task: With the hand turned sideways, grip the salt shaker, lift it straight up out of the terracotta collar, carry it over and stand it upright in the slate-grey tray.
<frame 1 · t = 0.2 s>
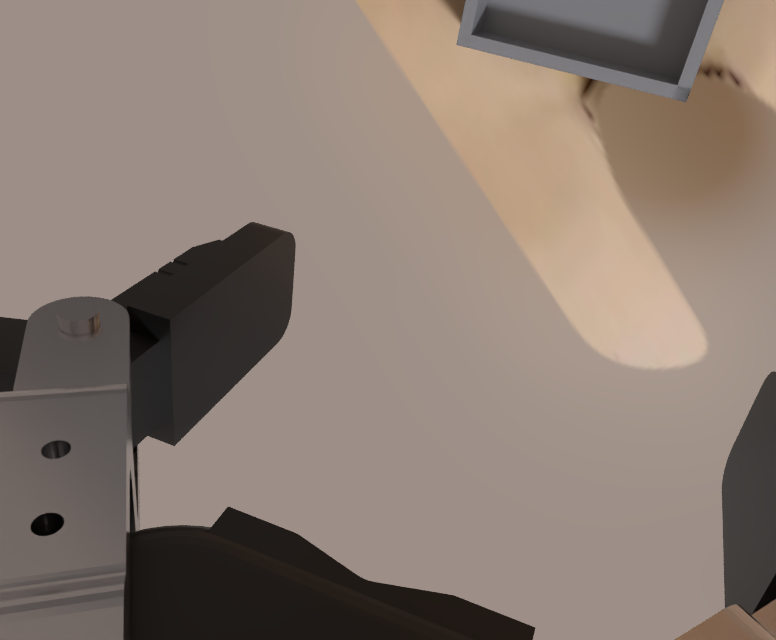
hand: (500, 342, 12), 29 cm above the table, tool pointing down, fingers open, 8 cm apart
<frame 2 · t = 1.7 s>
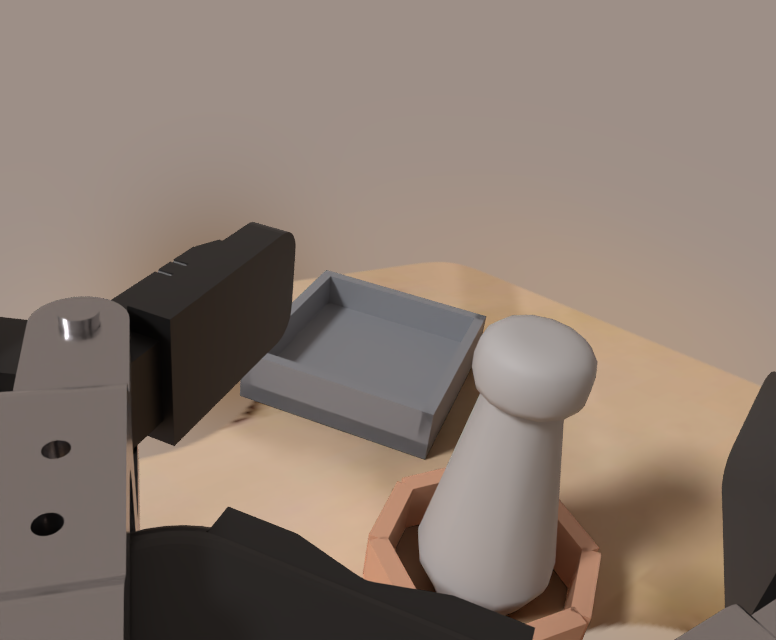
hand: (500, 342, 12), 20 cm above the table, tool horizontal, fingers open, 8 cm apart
salt shaker: (474, 586, 33), resting in collar
tray: (367, 374, 45), on the table
collar: (475, 583, 33), on the table
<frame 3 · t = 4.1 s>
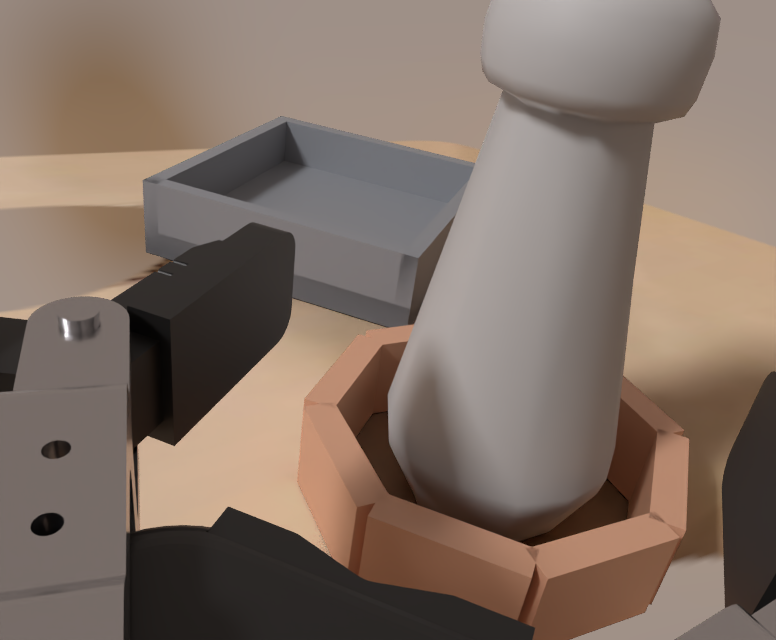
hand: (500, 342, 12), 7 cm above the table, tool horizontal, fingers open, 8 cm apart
salt shaker: (479, 496, 20), resting in collar
tray: (330, 238, 32), on the table
collar: (481, 490, 20), on the table
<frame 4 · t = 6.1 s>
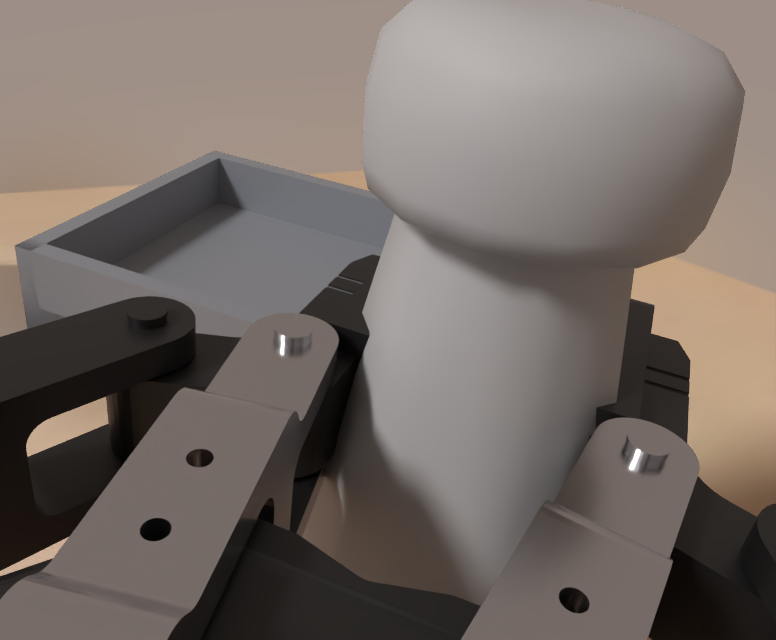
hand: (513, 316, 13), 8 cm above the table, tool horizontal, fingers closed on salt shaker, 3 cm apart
tray: (262, 303, 27), on the table
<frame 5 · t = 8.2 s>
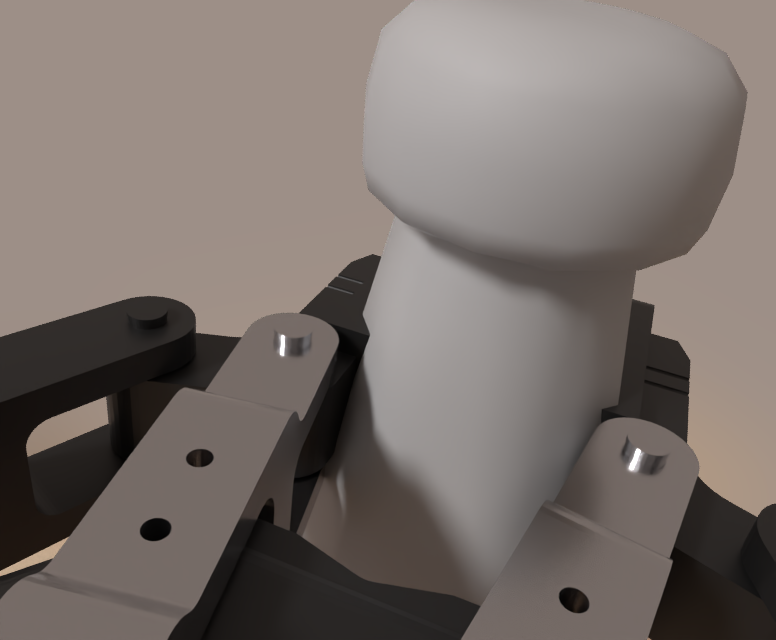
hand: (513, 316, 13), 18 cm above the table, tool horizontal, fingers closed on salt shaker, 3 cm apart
when the fingers open (10 cm above the table, at t = 10.5 s): salt shaker drops 1 cm, resting on tray.
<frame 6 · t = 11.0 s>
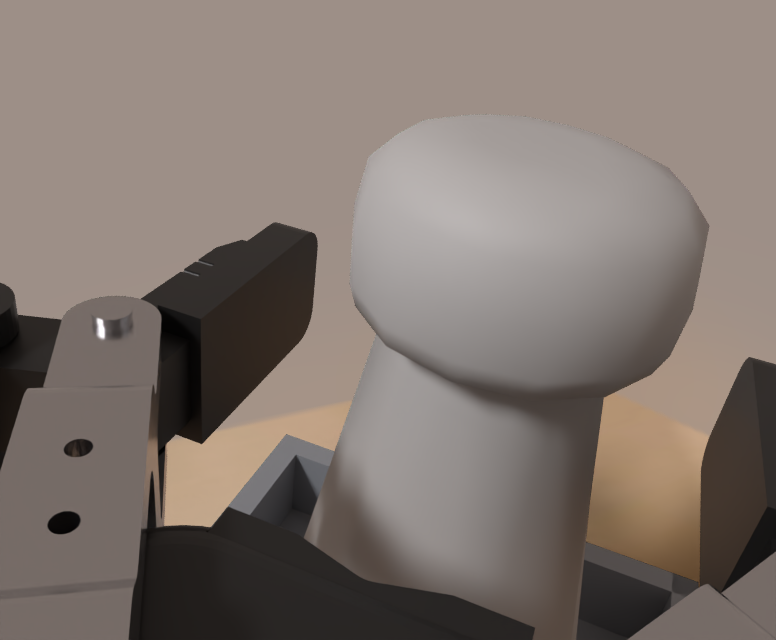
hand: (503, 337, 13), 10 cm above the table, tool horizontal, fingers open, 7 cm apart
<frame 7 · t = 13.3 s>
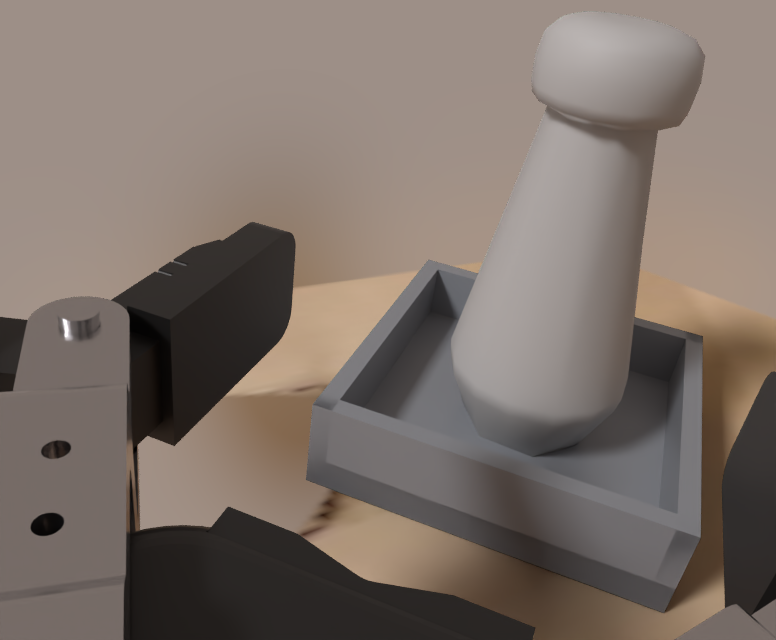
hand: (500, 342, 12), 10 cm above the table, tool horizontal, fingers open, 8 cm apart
salt shaker: (521, 420, 26), point 1 cm above the table, touching tray
tray: (513, 434, 26), on the table
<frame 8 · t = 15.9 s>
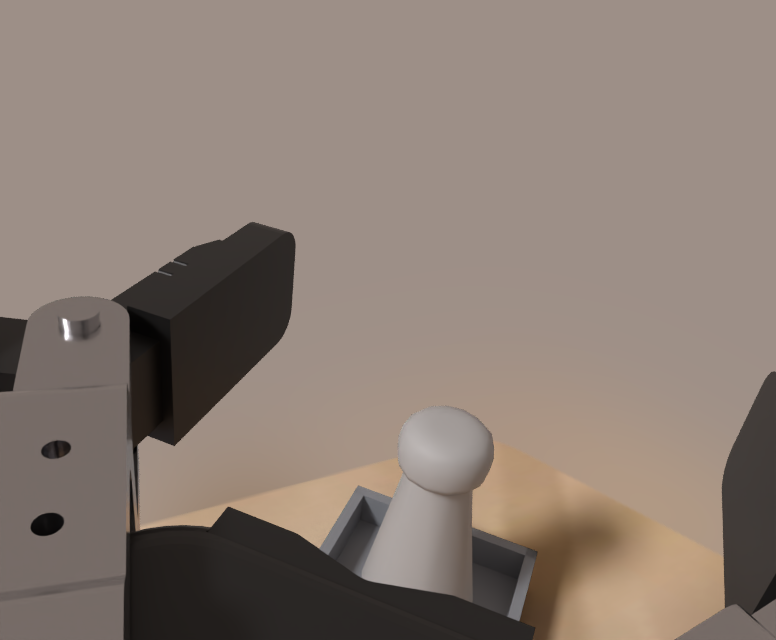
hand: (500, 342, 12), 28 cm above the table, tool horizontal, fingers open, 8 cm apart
salt shaker: (409, 618, 39), point 1 cm above the table, touching tray
tray: (406, 624, 40), on the table
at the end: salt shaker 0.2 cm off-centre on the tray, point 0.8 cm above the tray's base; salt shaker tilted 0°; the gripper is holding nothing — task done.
